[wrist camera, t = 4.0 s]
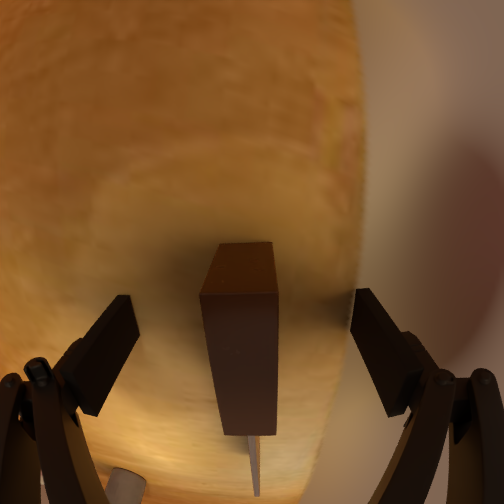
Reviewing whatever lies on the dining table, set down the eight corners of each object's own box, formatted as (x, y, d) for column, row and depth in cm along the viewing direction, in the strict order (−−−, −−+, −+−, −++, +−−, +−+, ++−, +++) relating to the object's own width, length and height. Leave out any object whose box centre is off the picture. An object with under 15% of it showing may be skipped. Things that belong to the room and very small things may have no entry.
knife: (219, 243, 14) (198, 293, 9) (272, 241, 13) (278, 292, 9) (243, 454, 20) (240, 501, 15) (272, 453, 20) (273, 501, 15)
